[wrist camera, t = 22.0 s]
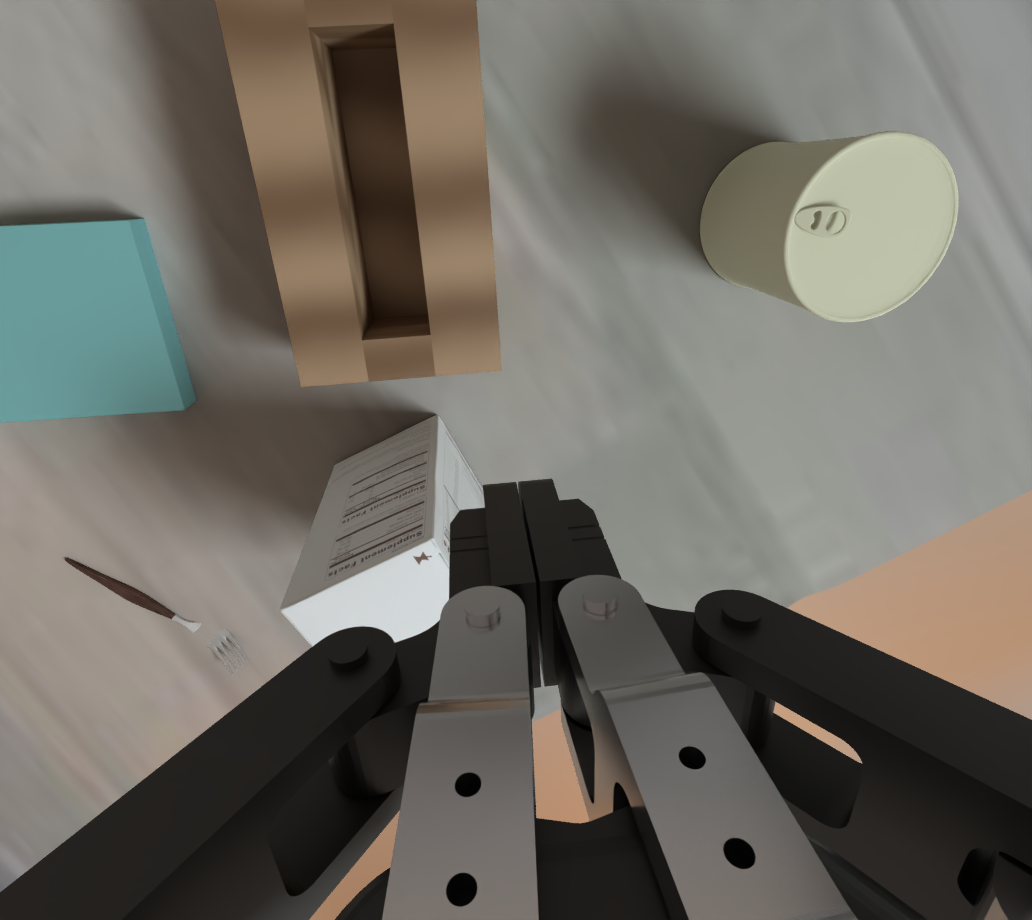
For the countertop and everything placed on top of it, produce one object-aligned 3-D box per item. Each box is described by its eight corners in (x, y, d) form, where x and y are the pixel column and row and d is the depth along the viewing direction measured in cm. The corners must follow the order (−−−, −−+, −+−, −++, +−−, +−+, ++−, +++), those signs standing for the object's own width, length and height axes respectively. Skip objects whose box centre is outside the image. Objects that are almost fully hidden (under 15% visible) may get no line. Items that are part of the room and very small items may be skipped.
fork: (77, 544, 47) (62, 559, 45) (256, 642, 53) (249, 659, 51) (61, 565, 48) (45, 581, 46) (239, 660, 53) (231, 677, 51)
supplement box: (331, 463, 46) (269, 607, 30) (437, 410, 44) (429, 531, 29) (396, 554, 50) (370, 722, 34) (495, 508, 49) (514, 659, 33)
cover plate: (148, 218, 38) (-87, 229, 37) (128, 220, 36) (-122, 232, 35) (199, 398, 43) (-7, 411, 42) (184, 410, 41) (-33, 424, 40)
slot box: (253, 4, 33) (206, -36, 27) (469, -6, 34) (472, -47, 28) (324, 355, 42) (301, 387, 36) (494, 341, 43) (501, 370, 36)
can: (724, 128, 38) (830, 109, 27) (853, 157, 40) (1002, 150, 29) (682, 275, 42) (761, 310, 31) (801, 297, 43) (916, 338, 33)
